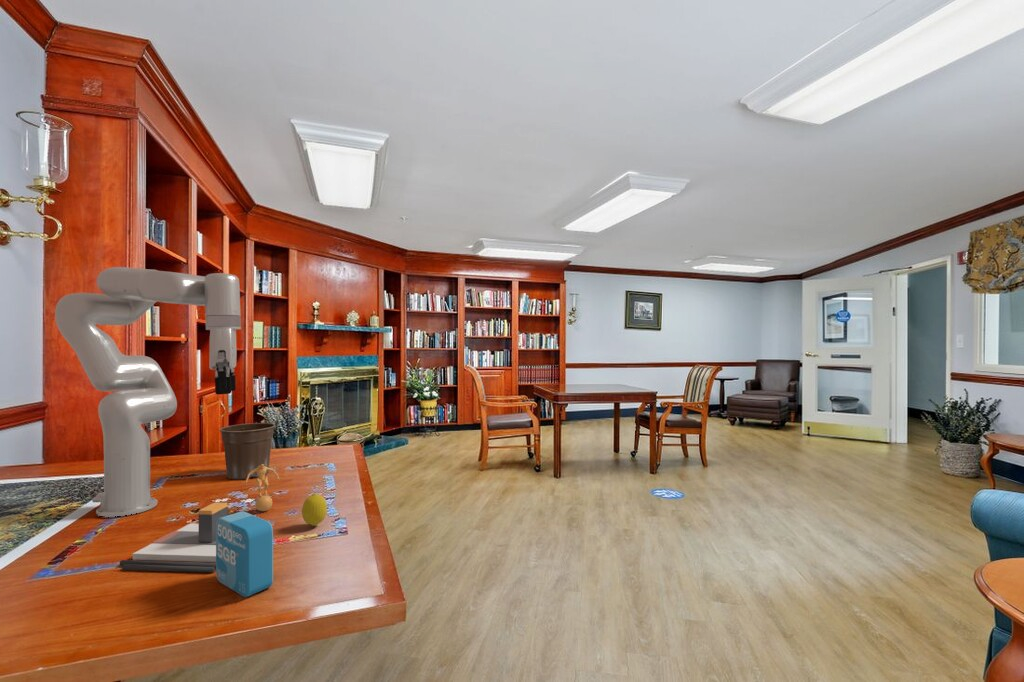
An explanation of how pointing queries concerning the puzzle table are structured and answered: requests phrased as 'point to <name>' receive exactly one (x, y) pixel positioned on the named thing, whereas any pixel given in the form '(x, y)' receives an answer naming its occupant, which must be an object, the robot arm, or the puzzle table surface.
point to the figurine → (263, 501)
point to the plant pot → (246, 448)
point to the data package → (244, 553)
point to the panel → (179, 547)
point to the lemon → (314, 509)
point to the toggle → (210, 521)
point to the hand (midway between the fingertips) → (226, 392)
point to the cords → (168, 566)
